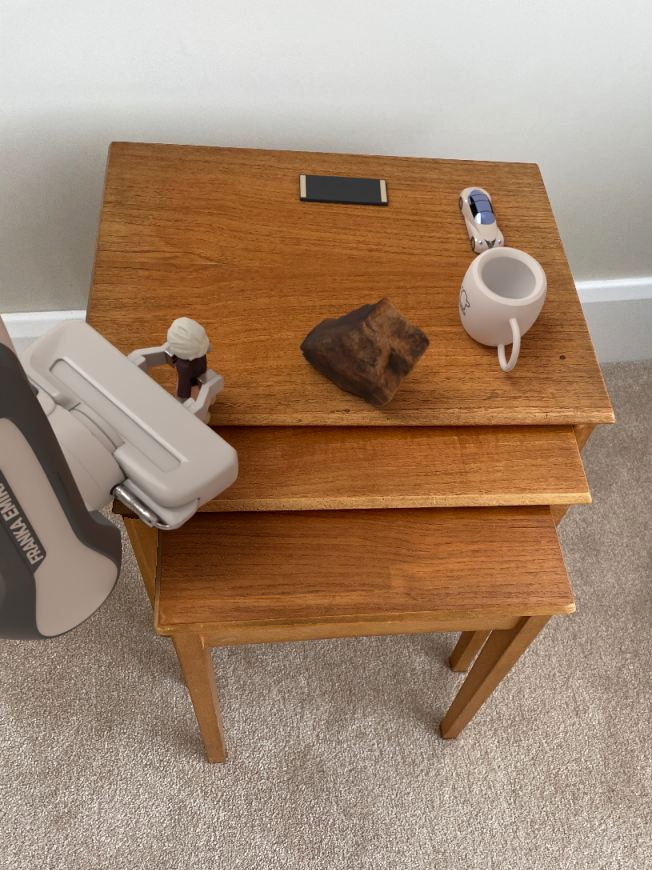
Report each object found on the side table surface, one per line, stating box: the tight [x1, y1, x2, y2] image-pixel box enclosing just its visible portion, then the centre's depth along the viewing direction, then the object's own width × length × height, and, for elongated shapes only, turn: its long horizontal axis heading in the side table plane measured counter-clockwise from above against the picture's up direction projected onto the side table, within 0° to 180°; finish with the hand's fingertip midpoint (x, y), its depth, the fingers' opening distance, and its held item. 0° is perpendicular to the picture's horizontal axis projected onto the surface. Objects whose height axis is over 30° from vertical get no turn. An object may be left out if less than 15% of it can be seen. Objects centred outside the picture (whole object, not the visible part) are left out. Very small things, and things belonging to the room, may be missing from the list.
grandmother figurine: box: [166, 316, 217, 425], centre depth 69 cm, size 8×4×13 cm, turn 0°
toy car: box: [458, 186, 505, 254], centre depth 88 cm, size 4×12×3 cm, turn 11°
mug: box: [458, 246, 548, 373], centre depth 80 cm, size 12×8×8 cm
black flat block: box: [298, 173, 389, 207], centre depth 89 cm, size 10×4×1 cm, turn 93°
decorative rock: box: [299, 297, 432, 408], centre depth 74 cm, size 12×6×11 cm, turn 57°
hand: (199, 361), depth 69 cm, fingers closed on grandmother figurine, 3 cm apart
